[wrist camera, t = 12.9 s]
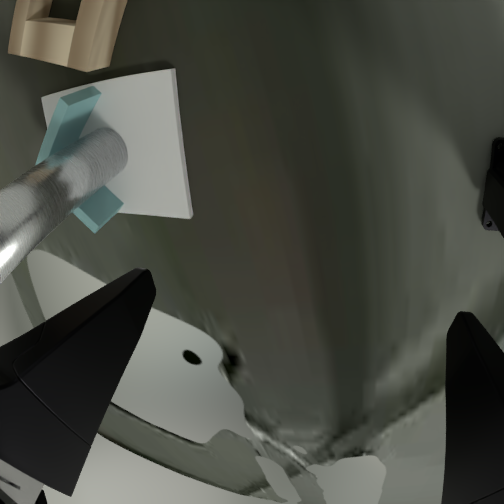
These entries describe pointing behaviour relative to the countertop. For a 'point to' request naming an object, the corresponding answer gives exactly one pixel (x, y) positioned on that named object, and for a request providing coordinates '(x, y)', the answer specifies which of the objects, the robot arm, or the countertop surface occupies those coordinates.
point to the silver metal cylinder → (55, 192)
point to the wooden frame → (67, 33)
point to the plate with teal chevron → (127, 143)
